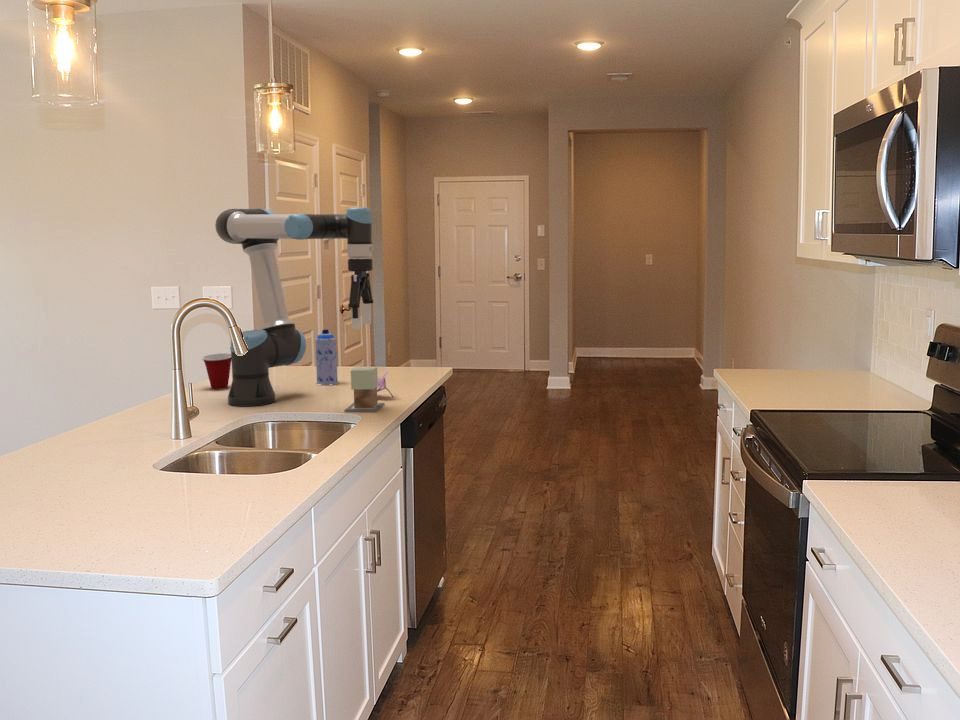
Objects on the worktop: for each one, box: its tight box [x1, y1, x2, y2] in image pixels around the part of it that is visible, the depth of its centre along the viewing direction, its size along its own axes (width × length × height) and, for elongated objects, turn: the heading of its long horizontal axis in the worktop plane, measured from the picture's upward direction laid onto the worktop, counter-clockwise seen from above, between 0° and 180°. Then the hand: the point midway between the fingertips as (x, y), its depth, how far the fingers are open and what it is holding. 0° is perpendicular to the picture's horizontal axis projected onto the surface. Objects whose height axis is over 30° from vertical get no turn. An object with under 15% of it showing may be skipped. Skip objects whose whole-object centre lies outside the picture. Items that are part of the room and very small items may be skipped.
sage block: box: [350, 366, 379, 390], centre depth 279 cm, size 7×7×6 cm
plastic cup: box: [201, 352, 232, 390], centre depth 320 cm, size 11×11×12 cm
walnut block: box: [353, 387, 378, 408], centre depth 280 cm, size 6×6×6 cm
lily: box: [377, 369, 394, 398], centre depth 298 cm, size 12×12×10 cm
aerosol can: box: [314, 328, 339, 386], centre depth 327 cm, size 8×8×20 cm
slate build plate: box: [344, 402, 385, 413], centre depth 281 cm, size 10×12×1 cm
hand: (361, 326), depth 277 cm, fingers open, 13 cm apart
